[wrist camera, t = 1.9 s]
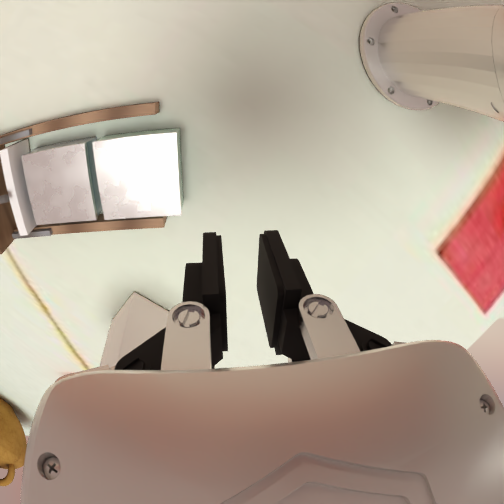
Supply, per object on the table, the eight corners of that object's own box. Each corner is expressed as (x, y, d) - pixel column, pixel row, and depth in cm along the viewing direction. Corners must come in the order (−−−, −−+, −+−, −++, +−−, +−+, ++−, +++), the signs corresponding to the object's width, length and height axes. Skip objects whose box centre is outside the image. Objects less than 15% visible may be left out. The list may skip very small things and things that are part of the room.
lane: (159, 101, 23) (145, 106, 18) (166, 218, 29) (158, 246, 25) (-3, 136, 20) (-33, 150, 16) (18, 229, 27) (-5, 254, 22)
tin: (180, 126, 25) (176, 132, 22) (184, 200, 29) (181, 215, 26) (105, 135, 24) (92, 142, 21) (114, 205, 28) (104, 220, 25)
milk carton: (111, 320, 36) (83, 447, 20) (134, 290, 34) (105, 433, 18) (154, 342, 39) (143, 466, 23) (180, 316, 37) (176, 455, 21)
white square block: (97, 135, 24) (84, 143, 21) (107, 205, 28) (96, 220, 25) (38, 146, 23) (21, 155, 20) (50, 210, 27) (36, 225, 24)
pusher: (28, 138, 22) (7, 148, 18) (43, 217, 27) (27, 235, 23) (20, 140, 21) (-1, 150, 18) (36, 218, 26) (20, 235, 23)
